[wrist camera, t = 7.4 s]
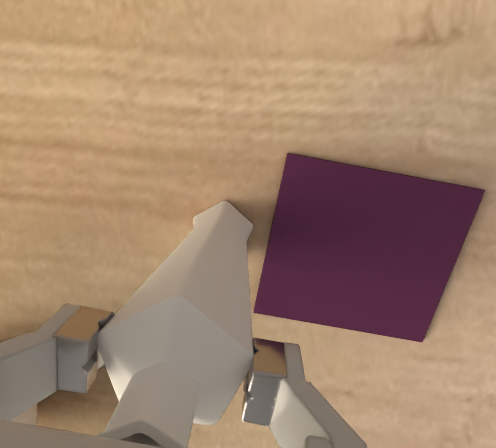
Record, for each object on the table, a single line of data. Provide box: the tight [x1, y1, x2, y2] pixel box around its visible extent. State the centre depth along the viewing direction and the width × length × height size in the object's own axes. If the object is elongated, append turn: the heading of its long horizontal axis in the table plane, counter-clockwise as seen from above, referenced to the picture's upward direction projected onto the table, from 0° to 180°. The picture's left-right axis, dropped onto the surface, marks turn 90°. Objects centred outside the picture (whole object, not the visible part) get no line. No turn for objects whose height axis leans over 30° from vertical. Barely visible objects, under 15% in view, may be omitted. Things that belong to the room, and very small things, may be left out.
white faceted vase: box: [96, 201, 254, 448], centre depth 14 cm, size 5×4×15 cm
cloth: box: [254, 153, 485, 342], centre depth 21 cm, size 12×11×1 cm
